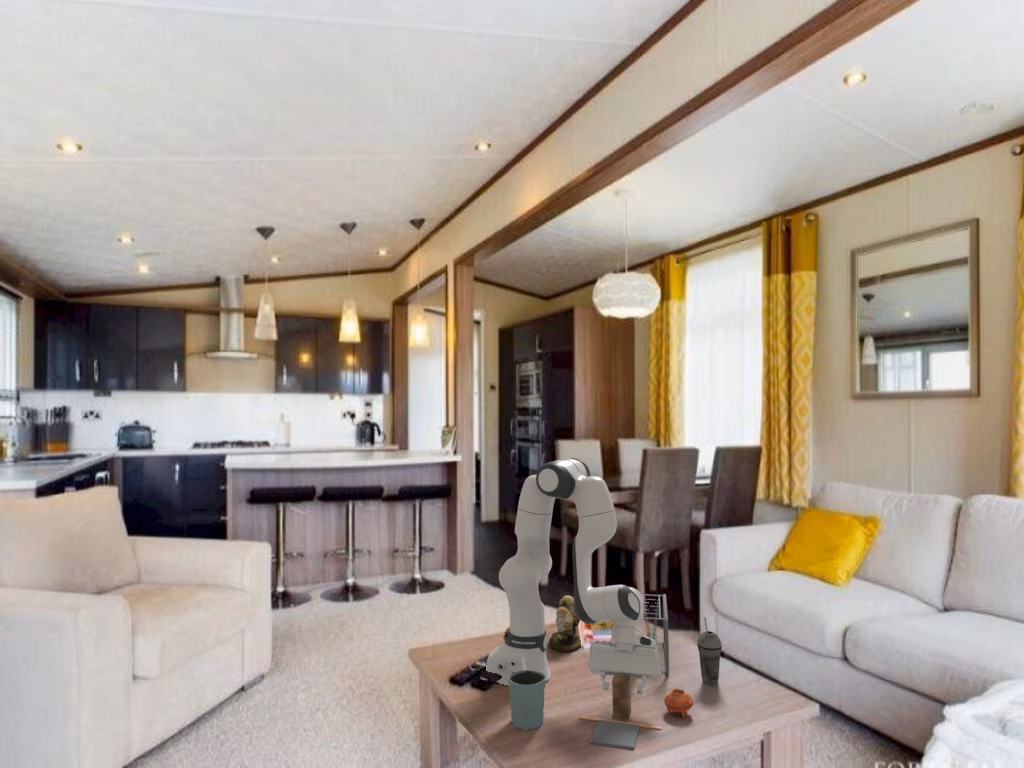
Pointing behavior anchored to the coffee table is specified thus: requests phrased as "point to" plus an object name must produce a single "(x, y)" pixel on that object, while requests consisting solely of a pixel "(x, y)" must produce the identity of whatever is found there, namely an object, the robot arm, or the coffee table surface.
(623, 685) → the wooden square post
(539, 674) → the teal tumbler
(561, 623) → the brown lumpy statue
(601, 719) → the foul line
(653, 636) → the newton's cradle
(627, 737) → the mat
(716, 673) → the beverage cup
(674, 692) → the pot
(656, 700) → the coffee table surface
